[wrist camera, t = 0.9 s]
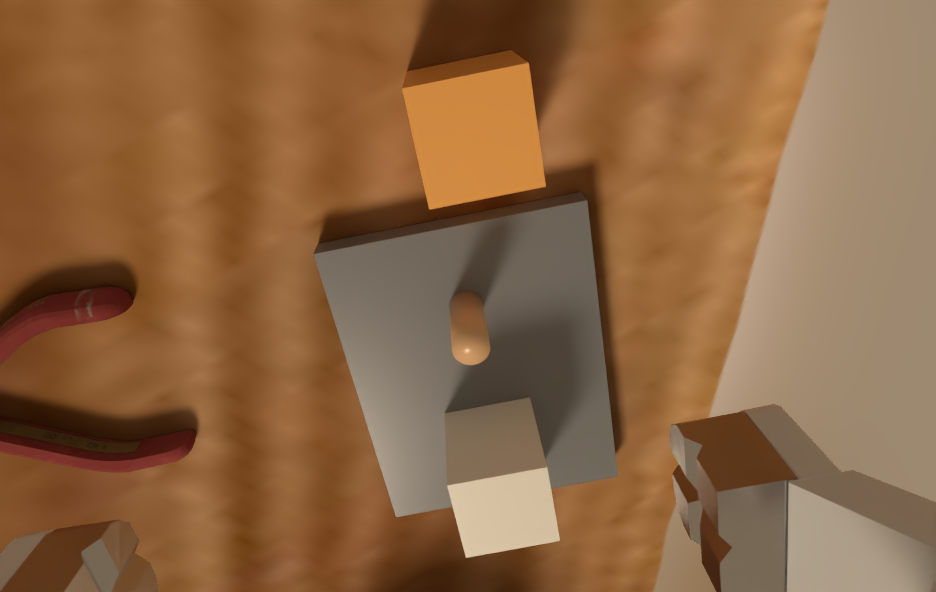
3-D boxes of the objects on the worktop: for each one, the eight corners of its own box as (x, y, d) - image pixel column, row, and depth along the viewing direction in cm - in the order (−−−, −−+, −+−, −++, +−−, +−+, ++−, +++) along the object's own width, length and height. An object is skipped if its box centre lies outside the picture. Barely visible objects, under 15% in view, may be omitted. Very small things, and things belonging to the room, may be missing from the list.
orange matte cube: (407, 71, 30) (402, 88, 25) (510, 49, 30) (528, 62, 25) (429, 173, 33) (429, 209, 27) (526, 154, 32) (545, 186, 27)
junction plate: (318, 243, 34) (290, 306, 27) (580, 191, 33) (619, 242, 27) (397, 499, 42) (391, 598, 35) (611, 460, 41) (647, 552, 34)
